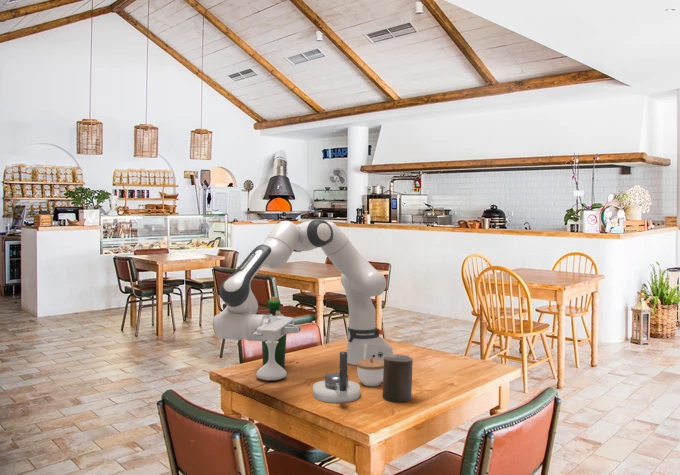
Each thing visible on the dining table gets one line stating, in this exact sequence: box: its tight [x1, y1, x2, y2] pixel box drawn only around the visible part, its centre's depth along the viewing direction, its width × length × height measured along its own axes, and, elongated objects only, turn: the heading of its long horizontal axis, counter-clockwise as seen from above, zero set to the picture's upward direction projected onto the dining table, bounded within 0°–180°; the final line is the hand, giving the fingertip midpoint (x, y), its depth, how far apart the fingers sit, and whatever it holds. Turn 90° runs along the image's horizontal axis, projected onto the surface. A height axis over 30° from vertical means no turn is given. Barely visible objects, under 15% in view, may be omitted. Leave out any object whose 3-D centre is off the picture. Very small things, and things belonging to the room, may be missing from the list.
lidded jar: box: [356, 358, 384, 387], centre depth 210 cm, size 11×11×9 cm
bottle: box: [261, 296, 288, 369], centre depth 229 cm, size 11×11×28 cm
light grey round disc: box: [312, 379, 361, 404], centre depth 197 cm, size 16×16×3 cm
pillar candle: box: [382, 353, 413, 403], centre depth 195 cm, size 10×10×15 cm
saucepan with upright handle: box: [324, 351, 349, 397], centre depth 192 cm, size 17×8×14 cm, turn 10°
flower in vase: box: [255, 310, 288, 381], centre depth 215 cm, size 13×11×25 cm
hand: (299, 329), depth 191 cm, fingers closed
